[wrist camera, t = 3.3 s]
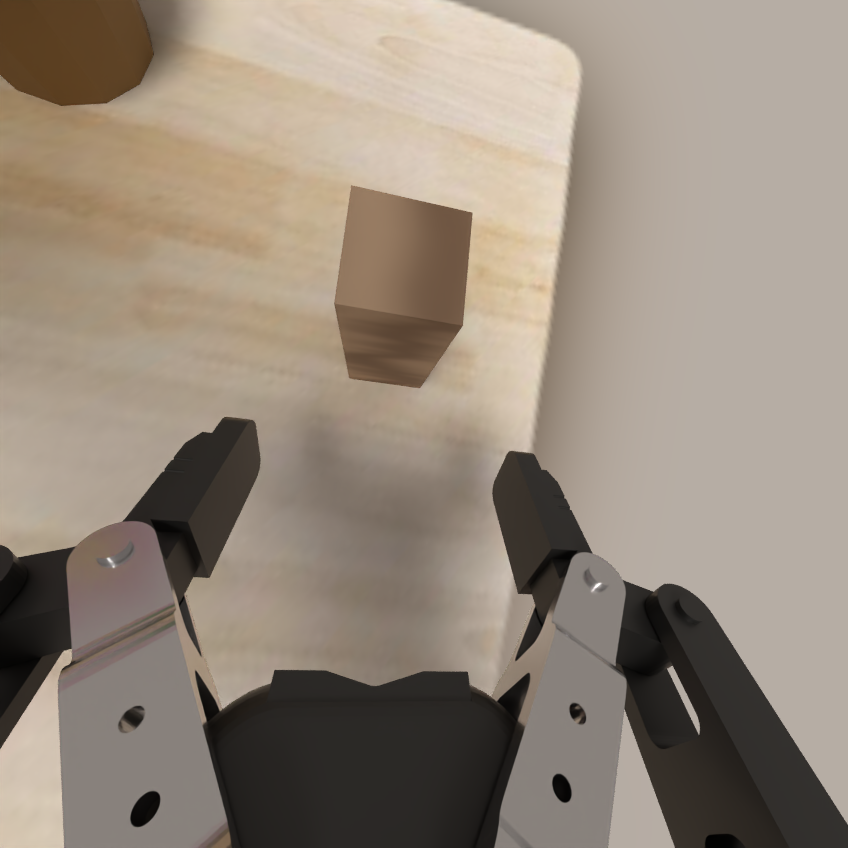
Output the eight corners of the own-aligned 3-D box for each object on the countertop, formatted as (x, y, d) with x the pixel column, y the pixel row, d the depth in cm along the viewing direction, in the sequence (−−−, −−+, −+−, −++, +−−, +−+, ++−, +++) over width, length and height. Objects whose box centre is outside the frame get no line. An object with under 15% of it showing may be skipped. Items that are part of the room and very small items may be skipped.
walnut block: (349, 378, 23) (334, 303, 12) (358, 311, 24) (351, 185, 13) (419, 387, 24) (462, 325, 13) (426, 322, 25) (472, 212, 14)
